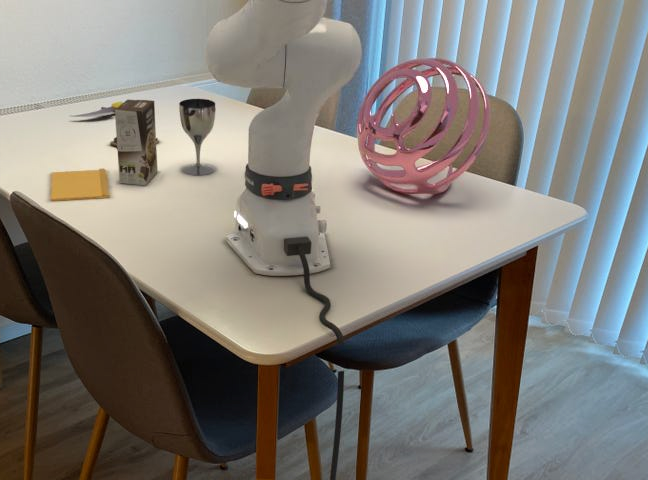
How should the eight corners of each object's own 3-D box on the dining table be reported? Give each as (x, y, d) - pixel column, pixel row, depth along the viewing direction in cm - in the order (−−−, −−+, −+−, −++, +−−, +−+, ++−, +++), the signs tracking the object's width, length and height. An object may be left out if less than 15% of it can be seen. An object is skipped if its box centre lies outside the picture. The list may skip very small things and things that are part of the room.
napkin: (109, 197, 163) (108, 194, 162) (51, 201, 161) (50, 197, 160) (105, 171, 176) (105, 168, 175) (52, 174, 174) (51, 171, 173)
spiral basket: (455, 72, 177) (397, 10, 157) (540, 133, 161) (488, 73, 141) (374, 169, 187) (310, 123, 166) (446, 237, 171) (385, 194, 150)
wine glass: (173, 169, 177) (171, 103, 169) (198, 161, 182) (197, 96, 174) (198, 178, 173) (197, 110, 165) (222, 169, 178) (222, 103, 169)
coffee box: (147, 186, 169) (142, 111, 160) (118, 183, 170) (113, 109, 161) (158, 171, 176) (155, 99, 167) (131, 169, 177) (127, 97, 168)
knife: (79, 126, 204) (159, 111, 217) (78, 116, 203) (158, 101, 216) (65, 119, 209) (144, 104, 222) (64, 109, 208) (143, 95, 221)
